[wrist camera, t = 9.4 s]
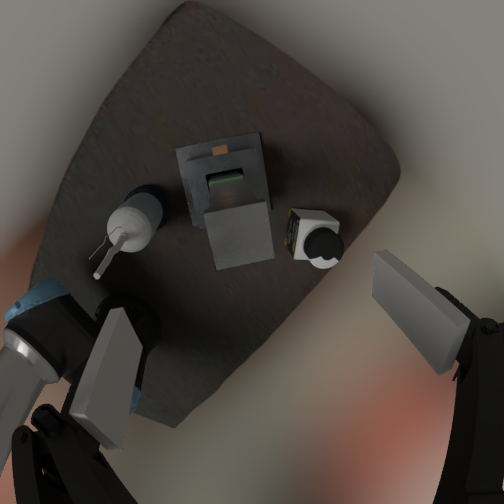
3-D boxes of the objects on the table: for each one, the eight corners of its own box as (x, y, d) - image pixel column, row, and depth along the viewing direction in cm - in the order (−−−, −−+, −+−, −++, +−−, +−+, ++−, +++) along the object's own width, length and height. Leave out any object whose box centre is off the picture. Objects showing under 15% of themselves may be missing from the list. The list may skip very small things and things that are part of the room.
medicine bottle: (289, 207, 50) (310, 228, 39) (325, 210, 51) (353, 232, 41) (283, 244, 53) (302, 273, 42) (318, 245, 54) (343, 274, 43)
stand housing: (193, 225, 49) (189, 245, 41) (176, 148, 43) (167, 151, 35) (270, 209, 50) (282, 226, 41) (258, 132, 44) (269, 131, 36)
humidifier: (137, 236, 48) (88, 317, 26) (119, 195, 45) (49, 251, 22) (176, 219, 48) (149, 296, 26) (159, 177, 45) (109, 220, 22)
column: (214, 204, 41) (216, 270, 22) (207, 174, 39) (203, 214, 20) (244, 198, 41) (274, 258, 22) (239, 168, 39) (266, 201, 20)
